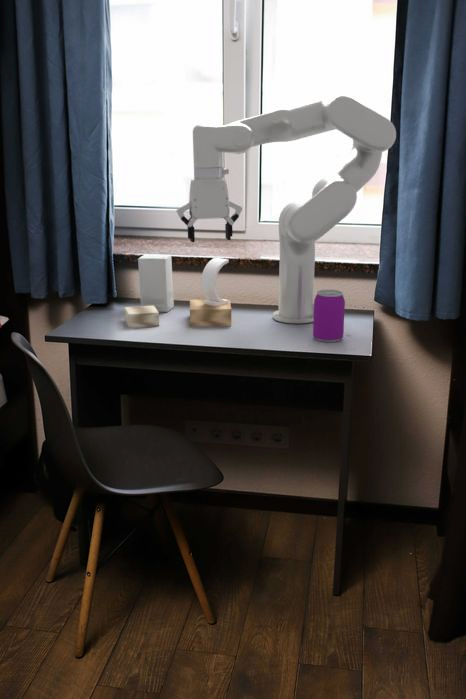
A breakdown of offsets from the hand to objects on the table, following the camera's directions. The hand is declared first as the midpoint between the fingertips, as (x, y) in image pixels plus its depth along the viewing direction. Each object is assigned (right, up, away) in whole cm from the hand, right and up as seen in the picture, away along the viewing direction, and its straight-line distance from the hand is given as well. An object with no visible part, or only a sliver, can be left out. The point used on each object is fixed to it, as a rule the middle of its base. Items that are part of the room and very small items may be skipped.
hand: (210, 240), depth 211 cm
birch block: (-19, -22, +4) cm, 29 cm away
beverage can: (+30, -26, -9) cm, 41 cm away
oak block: (0, -21, +7) cm, 23 cm away
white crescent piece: (+1, -17, +6) cm, 18 cm away
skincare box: (-16, -17, +19) cm, 30 cm away
